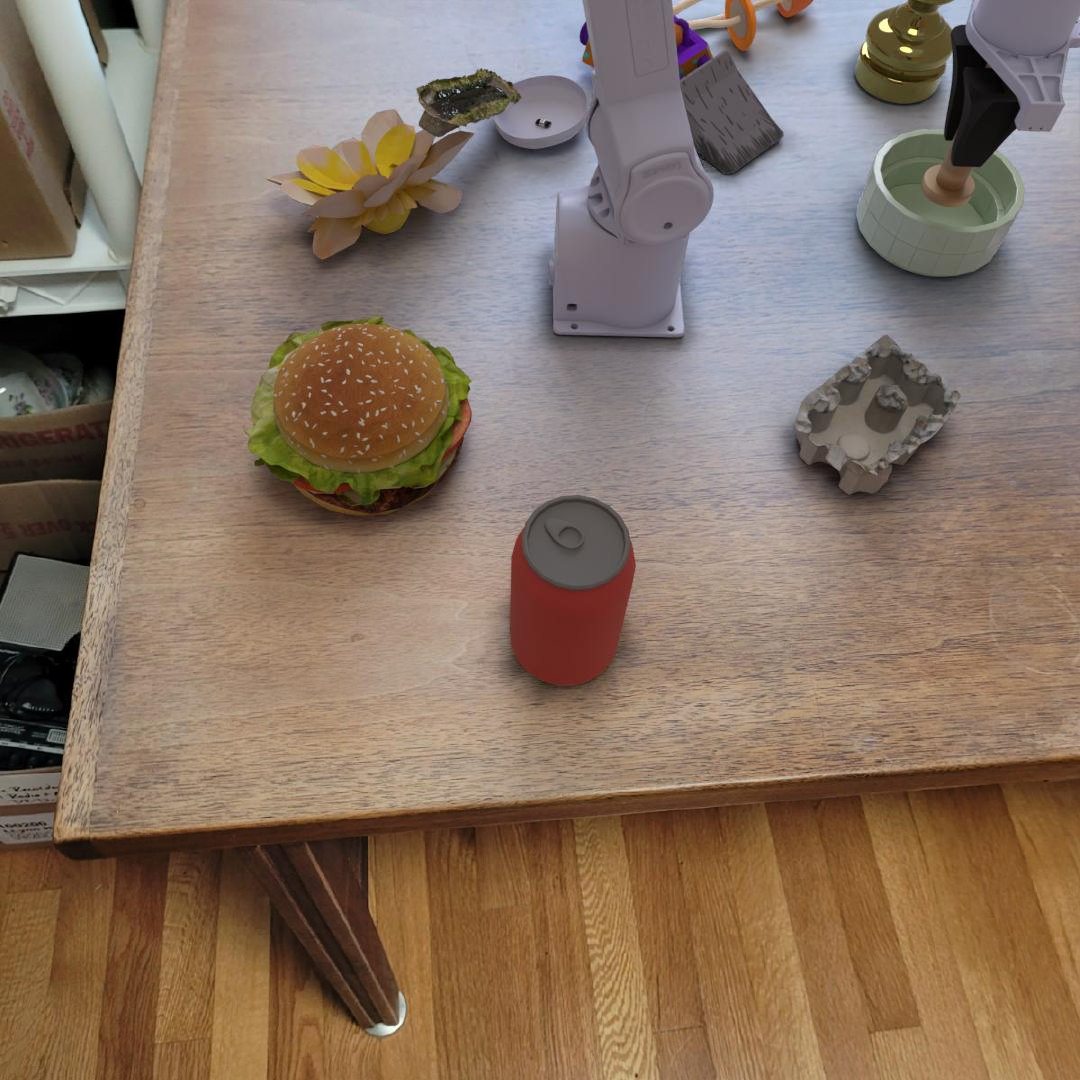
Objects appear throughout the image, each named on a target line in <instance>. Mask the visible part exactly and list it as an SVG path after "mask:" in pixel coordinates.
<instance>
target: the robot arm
mask: <svg viewBox="0 0 1080 1080" xmlns="http://www.w3.org/2000/svg"><path fill="white" fill-rule="evenodd" d="M582 6H583V12H584V18H585V22H586V24H587V29H588V35H589V40H590V46H591V51H592V57H593V63H594V67H593V69H592V70H591V72H590V78H591V83H592V98H591V101H590V104H589V106H588V112H587V117H586V122H585V130H586V135H587V138H588V140H589V142H590V144H591V145H592V147H593V149H594V152H595V156H596V159H597V166H596V168H595V169H594V172H593V174H592V176H591V180H590V183H589V184H587V185H585V186H582V187H580V188H575V189H574V188H573V189H570V190H563V191H558V192H557V196H556V209H555V224H554V225H555V226H554V239H553V240H554V241H553V253H552V259H550V260H549V263H548V265H549V266H548V267H549V268H548V285H549V286H550V287H552V315H553V317H552V328H553V329H552V330H553V332H554V334H556V335H561V336H562V335H563V336H564V335H565V336H605V337H640V338H641V337H643V338H644V337H646V338H682V337H683V336H684V334H685V319H684V307H683V298H682V286H681V285H682V284H681V276H682V271H683V268H684V261H685V258H686V253H687V248H688V244H689V243H688V242H689V238H690V234H691V232H693V231H694V230H695V229H697V228H698V227H699V226H700V225H701V224H702V223H703V221H704V220H705V219H706V218H707V216H708V215H709V213H710V211H711V209H712V207H713V204H714V198H715V193H714V190H715V189H714V185H713V182H712V180H711V177H710V176H709V175H708V173H707V172H706V170H705V169H704V167H703V165H702V162H701V160H700V157H699V154H698V151H696V149H695V147H694V143H693V138H692V134H691V130H690V126H689V122H688V118H687V113H686V109H685V105H684V101H683V97H682V93H681V88H680V78H679V68H678V57H677V47H676V37H675V27H674V16H673V6H674V5H673V0H582ZM1079 18H1080V0H971V4H970V8H969V12H968V16H967V20H966V23H965V24H958V25H956V26H954V27H953V28H952V32H951V43H952V74H951V83H950V84H951V85H950V92H949V97H948V103H947V109H946V114H945V121H944V128H943V130H944V137H945V141H952V140H953V138H954V136H955V134H956V136H955V139H954V143H953V146H952V152H951V162H952V165H953V166H956V167H981V166H982V165H983V164H984V163H985V162H986V161H987V160H988V159H989V158H990V157H991V155H992V154H993V153H994V152H995V151H996V150H998V149H999V148H1000V147H1001V146H1002V144H1003V143H1004V142H1005V141H1006V140H1007V139H1008V138H1009V137H1010V135H1012V134H1013V133H1014V132H1015V131H1016V130H1017V131H1018V132H1036V133H1037V132H1038V133H1040V132H1045V133H1050V132H1052V130H1053V128H1054V126H1055V124H1056V122H1057V120H1058V119H1059V117H1060V115H1061V113H1062V111H1063V109H1064V108H1065V106H1066V103H1065V99H1064V95H1063V83H1064V78H1065V72H1066V68H1067V62H1068V56H1069V50H1070V49H1079V48H1080V19H1079ZM987 63H988V64H989V65H990V66H991V67H992V68H985V67H986V64H987ZM957 129H958V130H957ZM956 131H957V133H956Z"/></svg>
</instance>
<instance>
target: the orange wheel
mask: <svg viewBox="0 0 1080 1080" xmlns="http://www.w3.org/2000/svg"><path fill="white" fill-rule="evenodd" d="M700 2H703V0H680V1H679V2H677V3H676V4H674V5H672V6H673V14H674V15H675V16H676V17H677V15H678V14H680V13H682V12H683V11H685V10H687V9H688V8H690V7H692V6H694V5H696V4H699V3H700ZM813 2H814V0H757V1H753V2H752V1H751V0H725V2H724V12H723V13H720V14H718V15H714V16H710V17H705V18H699V19H693V20H686V21H687V22H688V23H689V28H690V29H692V30H693V31H694V30H700V29H706V28H715V29H717V28H718V29H721V28H722V29H725V28H726V29H727V31H728V34H729V37H730V39H731V41H732V43H733V44H734V46H735V48H737V49H738V50H739V51H743V52H745V51H748V50H749V49H750V48H751V46H752V45H753V42H754V40H755V38H756V34H757V15H756V12H758V11H761V10H763V9H766V8H769V7H772V6H774V5H776V8H777V11H778V12H779V14H780V15H781V16H783V18H790V17H794V16H796V15H797V14H799V13H801V12H802V11H804V10H805V9H806V8H808V7H809V6H810V5H811V4H812V3H813Z"/></svg>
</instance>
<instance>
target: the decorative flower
mask: <svg viewBox="0 0 1080 1080" xmlns="http://www.w3.org/2000/svg"><path fill="white" fill-rule="evenodd" d="M474 135H476V133H475V132H473V131H464V130H458V131H455V132H451V133H447V134H446V135H444V136H442V137H441V138H440V139H439V140H437V141H435V139H436V138H437V137H436V136H433V135H432V134H430V133H428V132H427V131H426V130H424V129H422V130H420V131H418V132H416V129H415V126H414V125H410V124H407V123H405V122H404V120H403V118H402V117H401V115H400V113H399V112H398V111H397V110H396V109H395V108H391V109H386V110H381V111H376V112H375V113H374V114H373V115H372V116H371V117H370V118H369V119H368V120H367V121H366V124H365V125H364V128H363V130H362V131H361V134H360V139H358V138H355V137H351V138H349V139H344V140H343V141H340V142H339V143H337V144H336V145H334V146H333V147H332V148H329V147H328V146H326V145H325V146H324V145H319V144H310V145H308V146H306V147H304V148H302V149H300V150H299V152H297V154H296V156H295V163H296V166H297V167H298V170H296V171H292V172H287V173H282V174H277V175H273V176H271V177H266V178H264V179H265V180H266V181H268V182H271V183H273V184H276V185H278V186H279V188H280V190H281V191H282V192H283V193H284V194H285V195H286V196H288V197H289V198H290V199H293V200H294V201H295V202H297V203H300V204H302V205H304V206H307V207H308V208H307V209H306V210H305V211H304V212H302V213H301V215H303V216H311V217H317V219H315V221H314V222H313V224H312V226H310V228H309V229H308V231H307V234H313V240H312V251H313V254H314V255H315V256H316V257H317V258H318V259H321V260H324V259H327V258H329V257H332V256H334V255H335V254H337V253H339V252H341V251H343V250H345V249H347V248H348V247H350V246H352V245H354V244H355V243H356V242H357V240H358V239H359V238H360V237H361V233H362V230H363V228H362V226H363V227H365V228H367V229H368V230H370V231H372V232H375V233H378V234H381V235H386V234H391V233H394V232H397V231H398V230H400V229H402V227H403V225H404V224H405V223H406V221H407V219H408V218H409V216H410V213H411V210H412V209H416V208H418V206H417V205H418V204H417V202H418V203H419V205H420V206H422V207H424V208H426V209H428V210H431V211H433V212H437V213H440V214H443V213H447V212H451V211H453V210H454V209H456V208H457V207H458V206H459V204H460V201H461V199H462V196H463V194H462V191H461V190H460V189H458V188H456V187H453V186H451V185H450V184H447V183H446V182H441V181H439V180H436V179H433V178H434V177H435V176H436V175H438V174H440V172H441V171H442V170H443V169H445V167H447V166H448V165H449V164H450V163H451V162H452V161H453V160H454V159H455V158H456V156H457V155H458V154H459V153H460V152H461V151H462V150H463V148H464V147H465V145H467V144H468V142H469V141H470V140H471V139H472V138H473V137H474ZM434 141H435V142H434Z"/></svg>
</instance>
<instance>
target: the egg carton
mask: <svg viewBox="0 0 1080 1080" xmlns="http://www.w3.org/2000/svg"><path fill="white" fill-rule="evenodd" d="M961 397H962V396H961V393H960V392H959V391H958V390H957V389H955V390H950V389H949V388H948V387H947V386H945V385H944V383H943V381H942V376H941V375H940V374H938V373H932V372H931V371H930V370H929V369H928V368H927V365H926V364H924V363H922V362H920V361H919V360H918V359H917V358H916V357H915V356H914V355H913V353H912V352H905V351H902V349H901V348H900V345H898V344H897V342H896V341H895V340H894V339H893V338H892V337H890V335H888V334H883V335H882V336H880V338H878V339H877V340H876V341H874V342H873V343H872V344H871V345H870V346H868V347H867V348H866V349H865V350H864V351H863V352H862V353H861V354H860V355H859V356H856V357H854V359H852V361H851V362H850V363H848V362H847V363H845V364H844V365H843V366H842V367H841V368H840V369H839V370H838V371H836V373H835V374H833V375H832V376H831V377H829V378H828V379H827V380H826V381H825V382H824V383H823V384H822V385H820V386H818V387H817V388H816V389H814V390H813V391H811V392H810V393H809V394H807V395H806V396H805V398H803V400H802V402H801V404H800V405H799V408H798V412H797V416H796V419H795V422H794V424H793V426H794V427H795V429H796V432H795V433H794V436H795V438H796V439H797V441H798V444H799V447H800V451H799V458H800V459H801V460H803V461H804V463H806V465H808V466H810V465H812V464H816V463H818V462H819V463H825V464H828V465H829V466H831V467H832V468H834V469H836V471H838V473H839V476H840V480H839V482H838V483H839V484H838V487H839V489H840V490H841V491H843V492H844V493H845V494H847V495H849V496H850V495H852V494H854V493H857V492H862V493H868V494H876V493H877V492H879V491H880V490H881V489H882V487H883V486H884V485H885V484H886V483H888V481H889V480H890V479H889V477H890V475H891V474H892V471H893V465H892V464H895V465H899V466H904V465H905V464H906V462H907V461H908V460H909V459H910V458H911V456H912V455H913V454H914V453H915V452H916V451H917V449H918V448H919V446H920V445H921V444H924V443H925V442H927V441H929V440H930V439H932V438H933V437H934V436H935V435H936V434H937V433H938V432H939V431H940V429H942V427H943V426H944V424H945V422H947V420H948V419H949V417H950V415H951V414H952V413H954V411H955V409H956V406H957V404H958V403H959V402H960V400H961Z"/></svg>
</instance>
